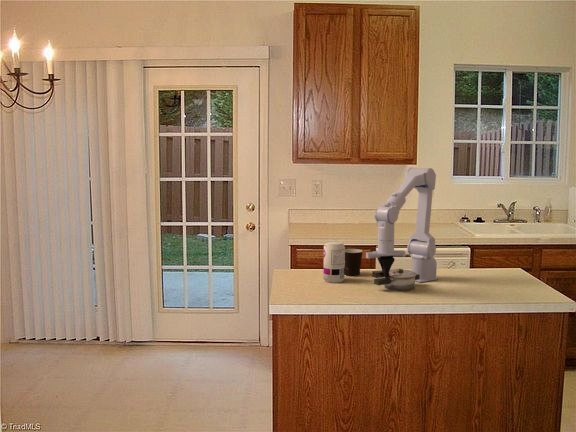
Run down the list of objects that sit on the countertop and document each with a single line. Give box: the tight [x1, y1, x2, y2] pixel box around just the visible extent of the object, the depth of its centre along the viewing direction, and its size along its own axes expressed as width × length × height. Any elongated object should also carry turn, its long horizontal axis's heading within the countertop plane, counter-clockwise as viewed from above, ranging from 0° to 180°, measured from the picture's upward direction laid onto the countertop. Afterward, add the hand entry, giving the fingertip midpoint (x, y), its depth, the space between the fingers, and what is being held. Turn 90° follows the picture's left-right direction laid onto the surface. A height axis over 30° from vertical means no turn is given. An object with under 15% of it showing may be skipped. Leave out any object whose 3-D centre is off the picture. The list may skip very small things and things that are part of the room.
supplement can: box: [322, 240, 346, 284], centre depth 206 cm, size 8×8×15 cm
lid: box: [372, 268, 416, 279], centre depth 196 cm, size 17×12×2 cm
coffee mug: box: [344, 248, 364, 277], centre depth 218 cm, size 12×9×10 cm
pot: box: [373, 274, 420, 292], centre depth 197 cm, size 19×11×4 cm, turn 119°
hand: (385, 276), depth 192 cm, fingers closed, pressing on lid
